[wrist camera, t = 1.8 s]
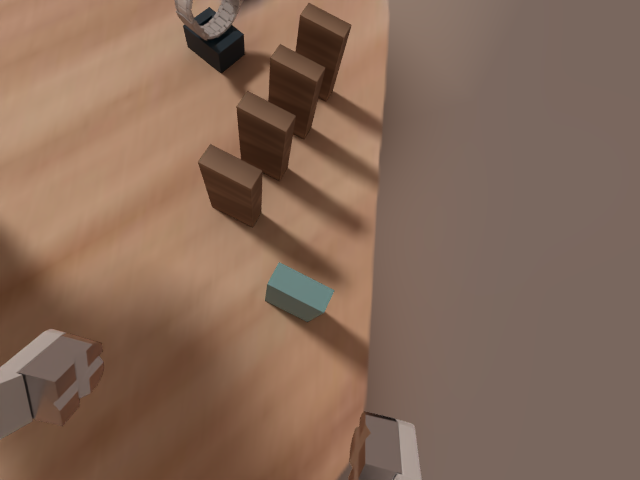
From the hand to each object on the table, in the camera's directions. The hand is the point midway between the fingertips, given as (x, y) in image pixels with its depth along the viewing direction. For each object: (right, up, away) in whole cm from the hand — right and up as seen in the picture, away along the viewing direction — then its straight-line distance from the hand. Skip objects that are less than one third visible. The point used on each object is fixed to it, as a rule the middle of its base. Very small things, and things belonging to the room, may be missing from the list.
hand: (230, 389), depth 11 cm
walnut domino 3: (+2, +24, +36) cm, 43 cm away
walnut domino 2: (-4, +13, +31) cm, 34 cm away
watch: (-10, +29, +35) cm, 46 cm away
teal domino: (0, -2, +27) cm, 27 cm away
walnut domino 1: (-7, +8, +29) cm, 31 cm away
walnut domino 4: (-1, +19, +33) cm, 38 cm away
